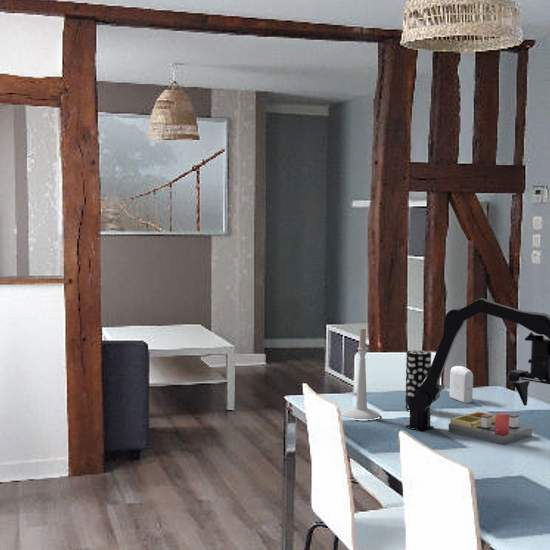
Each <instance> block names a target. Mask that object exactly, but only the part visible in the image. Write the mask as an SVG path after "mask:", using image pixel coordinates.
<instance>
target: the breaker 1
mask: <svg viewBox="0 0 550 550" xmlns="http://www.w3.org/2000/svg"><path fill="white" fill-rule="evenodd" d="M487 414H488V413H487ZM487 414H485V415H481V427H485V428H488V427H491V417H492V415H493V414H492V415H487Z"/></svg>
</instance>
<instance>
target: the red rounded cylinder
mask: <svg viewBox="0 0 550 550" xmlns="http://www.w3.org/2000/svg"><path fill="white" fill-rule="evenodd" d="M495 415H496V416H495V433H496V434H499V435H508V434H509V417H510V414H509V413H506V412H497V413H495Z"/></svg>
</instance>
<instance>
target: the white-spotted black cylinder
mask: <svg viewBox="0 0 550 550" xmlns="http://www.w3.org/2000/svg"><path fill="white" fill-rule="evenodd" d="M405 356H406V357H405V358H406V359H405V360H406V362H405V365H406V366H405V400H404V402H405V406H404V409H405V408H406V409H407V410H409V407H408V403H409V402H411V401H412V400H413V399H414V398H415V395H416V392H417V391H418V389H419V387H420V386H421V384H422V383H423V381H424V380H425V378H426V377H427V375H428V373H429V370H430V367H431V365H432V352H431V351H425V350H408V351H406V355H405ZM429 408H430V409H431V406H430V407H429Z"/></svg>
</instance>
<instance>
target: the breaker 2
mask: <svg viewBox="0 0 550 550" xmlns="http://www.w3.org/2000/svg"><path fill="white" fill-rule="evenodd" d="M509 415H510V417H509V426H510V427H517V426H518V425H519V421H520V414H516V413H511V414H509Z"/></svg>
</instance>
